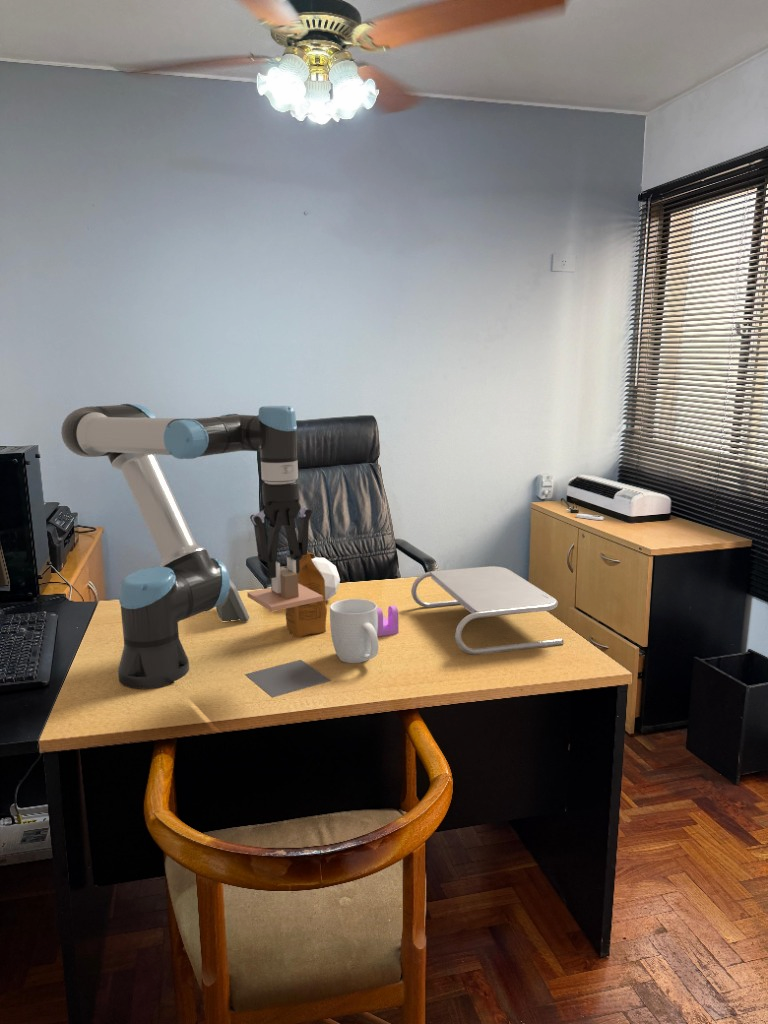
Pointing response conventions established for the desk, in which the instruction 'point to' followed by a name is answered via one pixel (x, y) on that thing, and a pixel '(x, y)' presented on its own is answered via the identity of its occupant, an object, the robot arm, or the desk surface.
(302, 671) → the mat
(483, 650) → the monitor stand
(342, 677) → the desk surface
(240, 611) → the digital clock
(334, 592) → the geodesic sphere
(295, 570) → the robot arm
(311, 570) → the coffee package
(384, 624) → the bracket
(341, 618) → the mug
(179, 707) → the desk surface
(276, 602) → the lid
